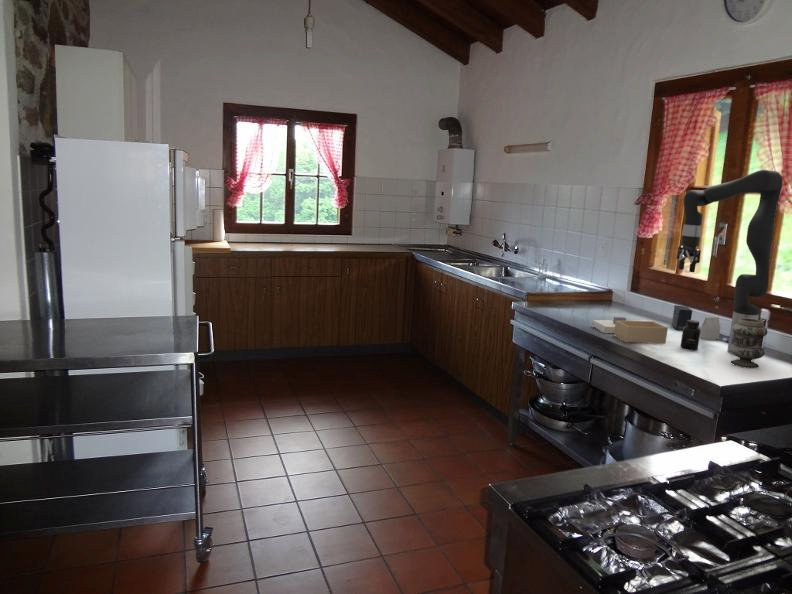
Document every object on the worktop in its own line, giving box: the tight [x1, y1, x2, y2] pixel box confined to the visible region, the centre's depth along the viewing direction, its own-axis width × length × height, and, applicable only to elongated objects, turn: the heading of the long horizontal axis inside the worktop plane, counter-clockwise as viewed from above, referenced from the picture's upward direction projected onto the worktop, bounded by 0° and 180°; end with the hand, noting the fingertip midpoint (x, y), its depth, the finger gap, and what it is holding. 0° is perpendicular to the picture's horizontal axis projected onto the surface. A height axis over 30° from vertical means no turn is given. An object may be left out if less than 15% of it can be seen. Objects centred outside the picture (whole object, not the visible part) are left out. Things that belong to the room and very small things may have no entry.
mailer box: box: [613, 320, 668, 344], centre depth 277 cm, size 12×18×7 cm, turn 97°
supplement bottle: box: [680, 319, 701, 351], centre depth 265 cm, size 7×7×12 cm
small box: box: [670, 304, 693, 331], centre depth 304 cm, size 11×6×10 cm, turn 168°
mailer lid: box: [592, 316, 627, 333], centre depth 292 cm, size 14×20×6 cm
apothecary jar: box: [729, 318, 768, 369], centre depth 243 cm, size 12×12×18 cm
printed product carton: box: [700, 316, 721, 341], centre depth 285 cm, size 4×7×10 cm, turn 101°
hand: (686, 270), depth 285 cm, fingers open, 8 cm apart
